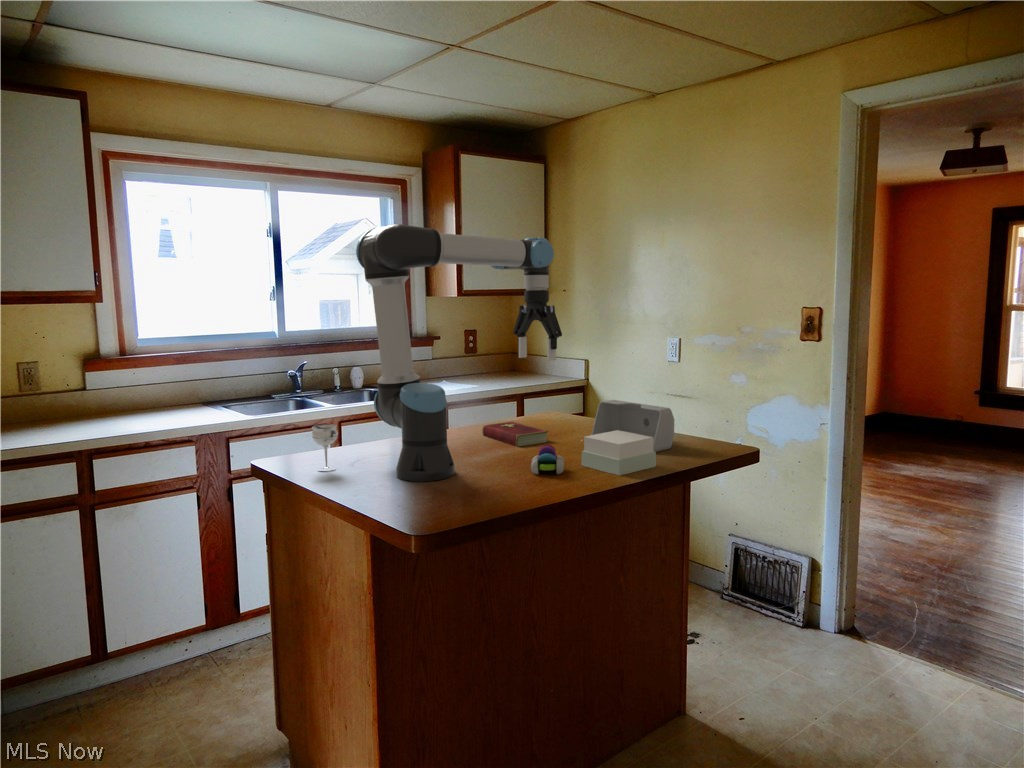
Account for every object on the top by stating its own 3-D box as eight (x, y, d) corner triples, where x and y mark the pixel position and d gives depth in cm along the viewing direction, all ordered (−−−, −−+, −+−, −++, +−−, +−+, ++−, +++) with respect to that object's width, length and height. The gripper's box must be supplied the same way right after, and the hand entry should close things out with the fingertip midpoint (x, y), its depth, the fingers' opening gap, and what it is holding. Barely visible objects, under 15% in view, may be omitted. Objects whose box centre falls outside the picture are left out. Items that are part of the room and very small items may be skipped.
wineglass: (313, 474, 185) (311, 429, 183) (313, 468, 191) (311, 425, 190) (340, 471, 186) (337, 427, 185) (339, 466, 193) (337, 423, 191)
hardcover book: (516, 448, 213) (516, 434, 213) (482, 437, 231) (482, 424, 230) (548, 443, 220) (548, 430, 219) (513, 432, 237) (512, 420, 237)
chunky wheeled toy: (564, 467, 187) (564, 441, 187) (563, 477, 178) (563, 449, 177) (533, 467, 188) (532, 441, 187) (530, 476, 179) (530, 449, 178)
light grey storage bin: (686, 446, 211) (686, 405, 209) (651, 454, 201) (651, 412, 199) (623, 434, 230) (624, 396, 228) (589, 441, 220) (589, 402, 218)
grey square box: (619, 475, 178) (619, 444, 177) (581, 465, 189) (581, 436, 188) (655, 466, 186) (656, 437, 185) (617, 457, 197) (617, 429, 196)
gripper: (573, 289, 205) (573, 360, 208) (520, 290, 224) (520, 355, 227) (555, 289, 200) (555, 362, 203) (501, 290, 220) (502, 357, 222)
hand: (536, 359), depth 215 cm, fingers open, 13 cm apart
